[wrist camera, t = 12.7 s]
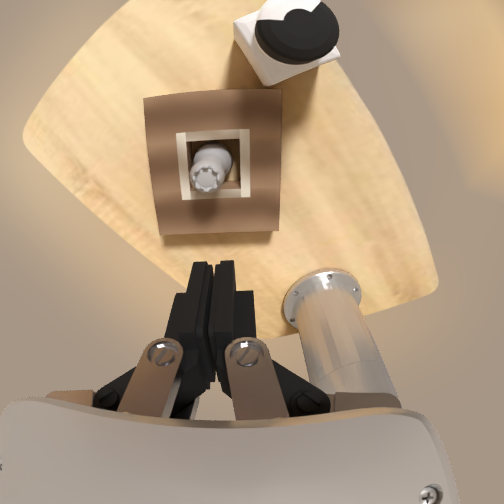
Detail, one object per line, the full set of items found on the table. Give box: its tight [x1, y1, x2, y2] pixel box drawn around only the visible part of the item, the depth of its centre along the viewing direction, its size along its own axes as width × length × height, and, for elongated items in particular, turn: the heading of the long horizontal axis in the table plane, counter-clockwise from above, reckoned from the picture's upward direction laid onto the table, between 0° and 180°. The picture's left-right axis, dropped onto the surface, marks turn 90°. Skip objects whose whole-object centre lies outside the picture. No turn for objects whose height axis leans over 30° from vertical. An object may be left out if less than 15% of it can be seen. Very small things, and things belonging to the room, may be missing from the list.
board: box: [143, 89, 282, 235], centre depth 29 cm, size 16×14×3 cm
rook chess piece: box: [190, 142, 233, 193], centre depth 27 cm, size 4×4×8 cm
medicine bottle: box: [233, 0, 340, 87], centre depth 19 cm, size 7×7×12 cm
